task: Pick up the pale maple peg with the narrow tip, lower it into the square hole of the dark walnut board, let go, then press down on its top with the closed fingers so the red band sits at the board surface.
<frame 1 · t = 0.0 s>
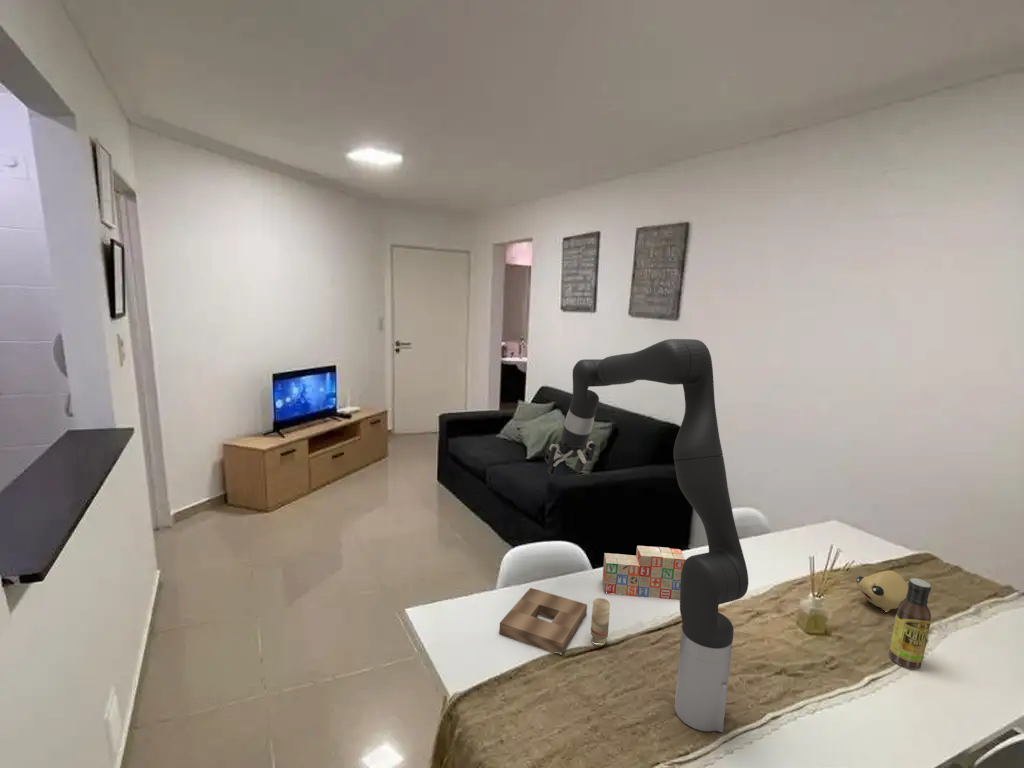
hand: (564, 472, 149), 31 cm above the table, tool tilted 20°, fingers open, 8 cm apart
tan toy head: (879, 607, 143), on the table
peg: (598, 641, 124), on the table
board: (544, 624, 130), on the table
stack of blocks: (641, 592, 147), on the table
sauce bottle: (905, 662, 121), on the table
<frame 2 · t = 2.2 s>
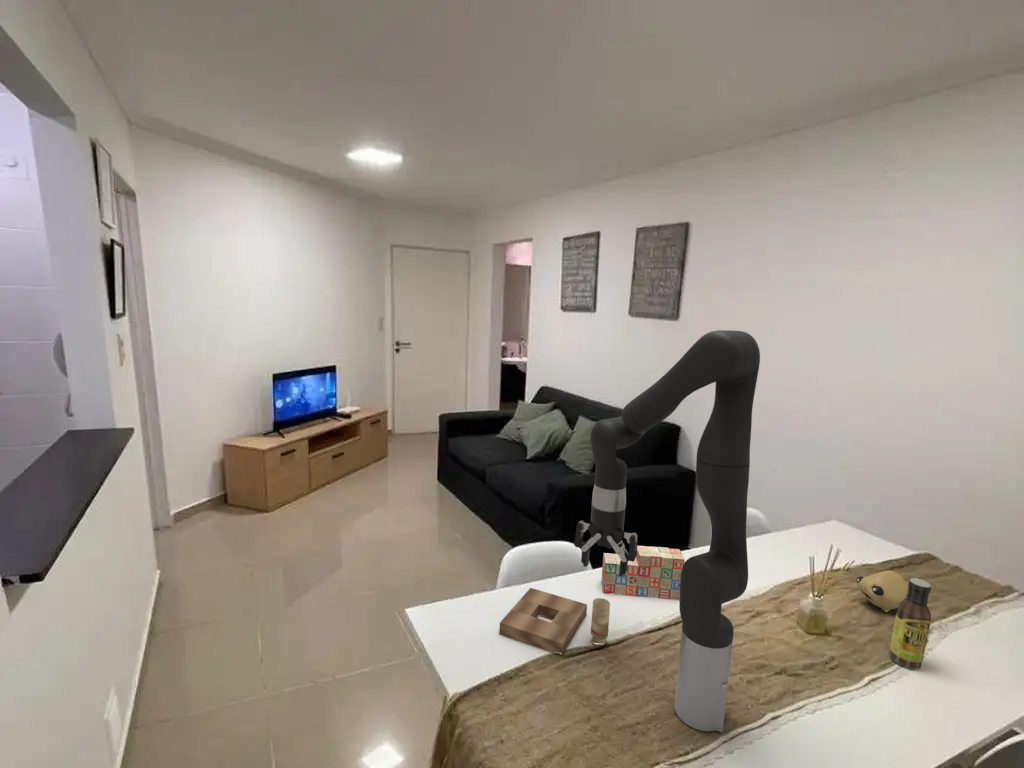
hand: (603, 570, 121), 18 cm above the table, tool pointing down, fingers open, 8 cm apart
nothing on the table moved.
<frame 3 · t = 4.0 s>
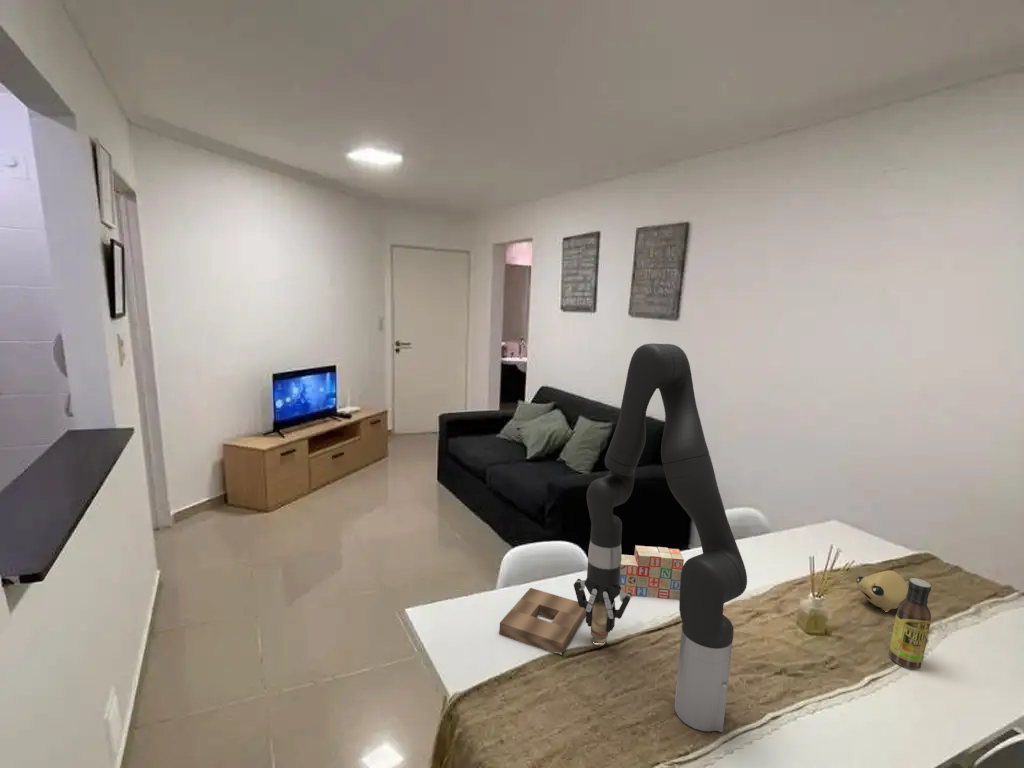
hand: (599, 627, 123), 4 cm above the table, tool pointing down, fingers closed on peg, 4 cm apart
peg: (598, 641, 124), on the table, touching gripper
everything else where it was.
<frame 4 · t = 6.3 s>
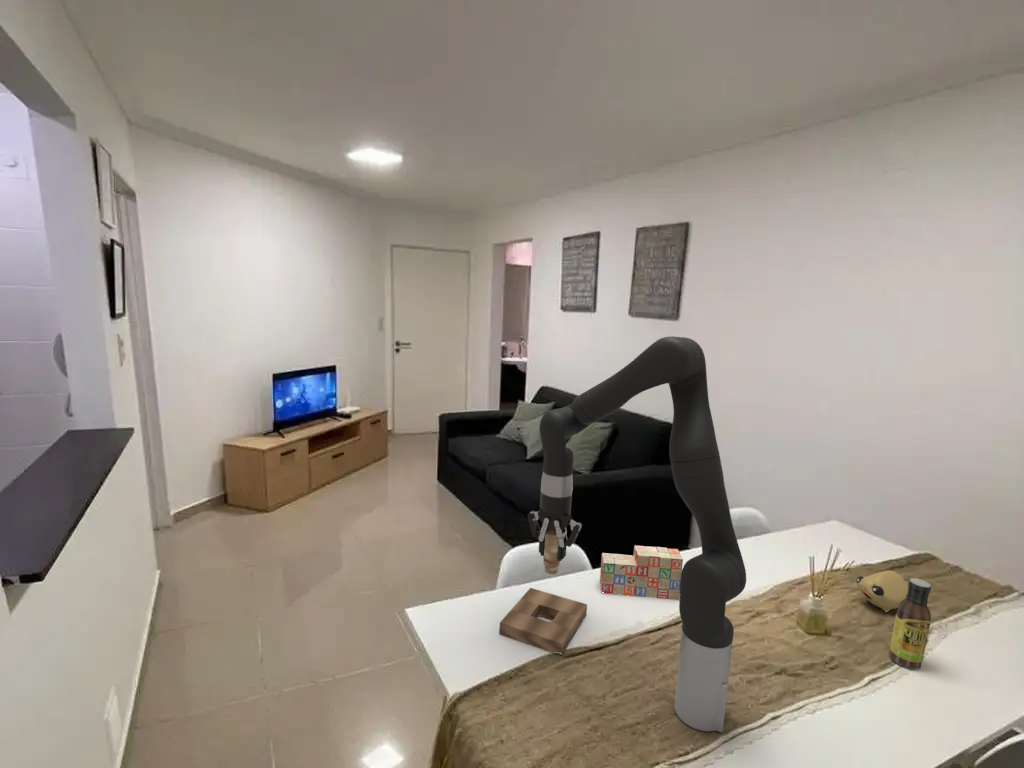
hand: (551, 556, 127), 18 cm above the table, tool pointing down, fingers closed on peg, 4 cm apart
peg: (551, 570, 128), point 14 cm above the table, touching gripper
everything else where it was.
when the fingers open (4 cm above the table, at t = 8.9 s): peg stays where it is, resting in board.
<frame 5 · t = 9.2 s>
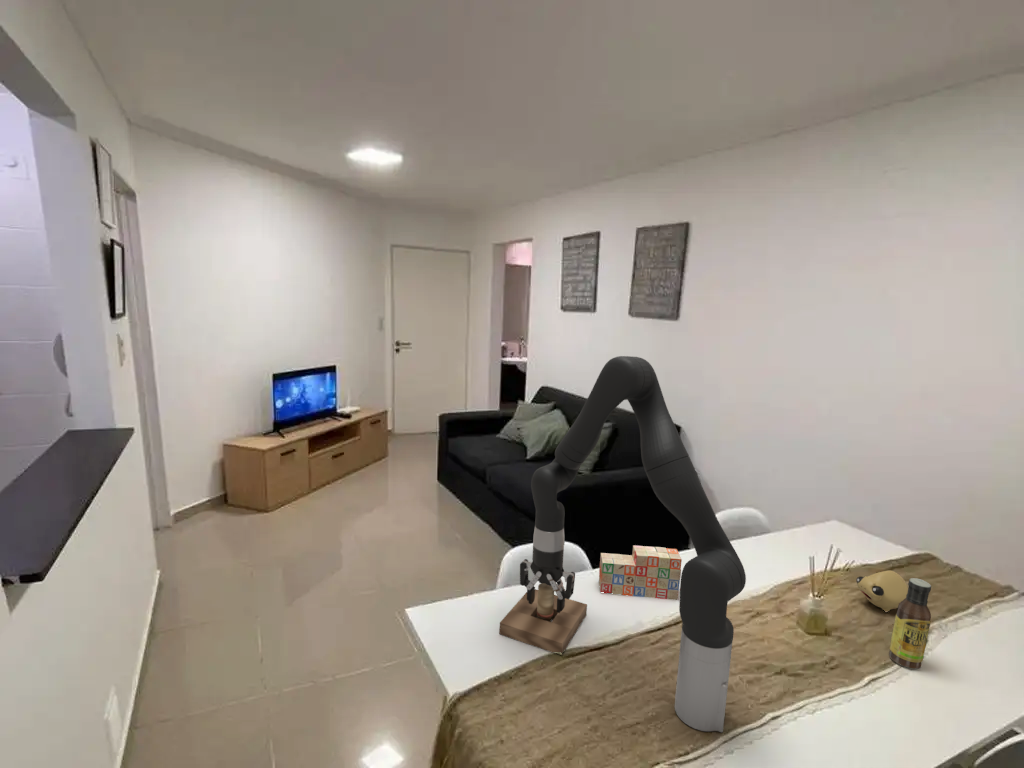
hand: (545, 606, 129), 5 cm above the table, tool pointing down, fingers open, 7 cm apart
peg: (544, 624, 130), resting in board
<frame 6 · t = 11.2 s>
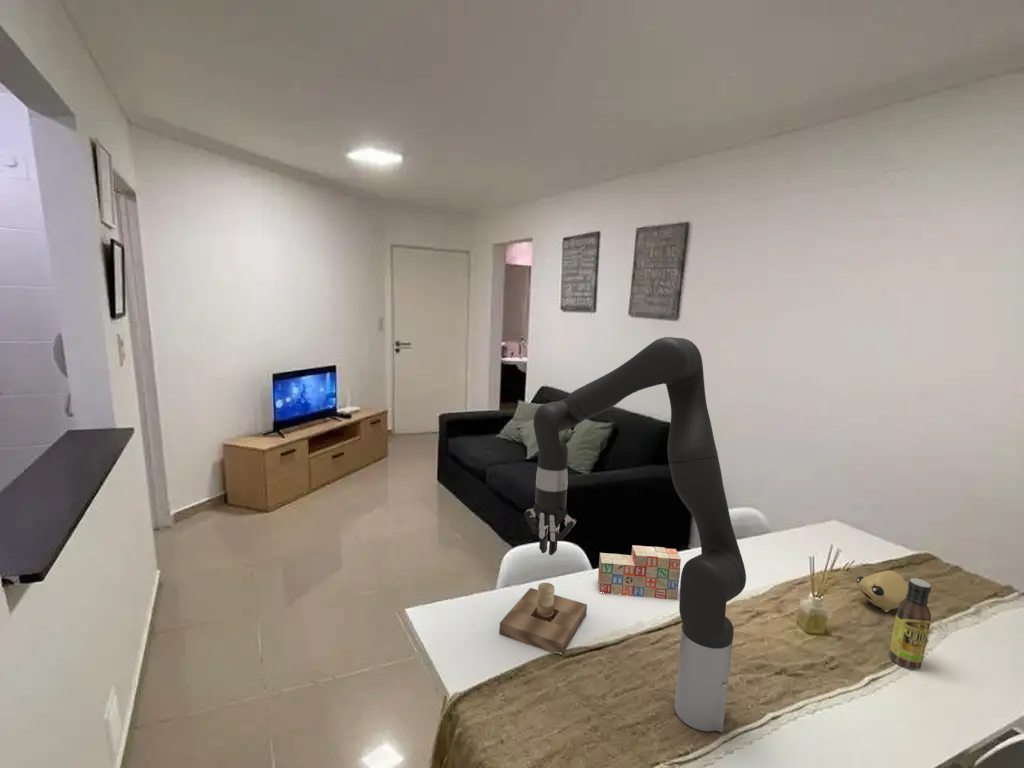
hand: (548, 552, 127), 19 cm above the table, tool pointing down, fingers closed
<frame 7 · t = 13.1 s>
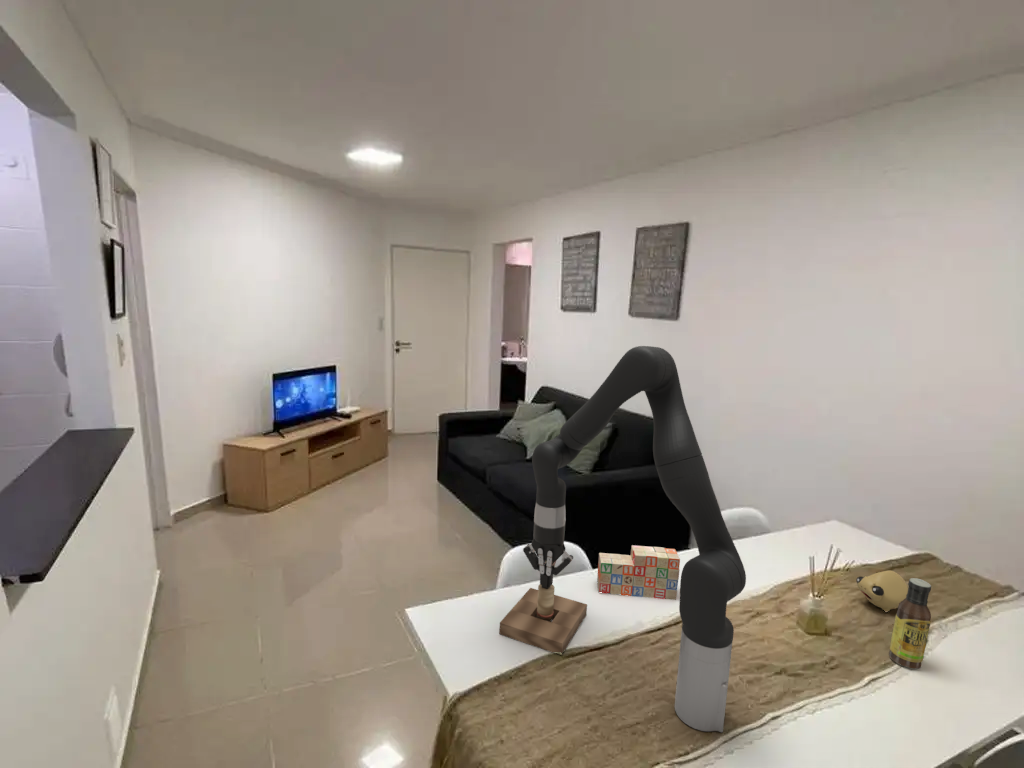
hand: (546, 587, 128), 10 cm above the table, tool pointing down, fingers closed
peg: (544, 624, 130), resting in board, touching gripper
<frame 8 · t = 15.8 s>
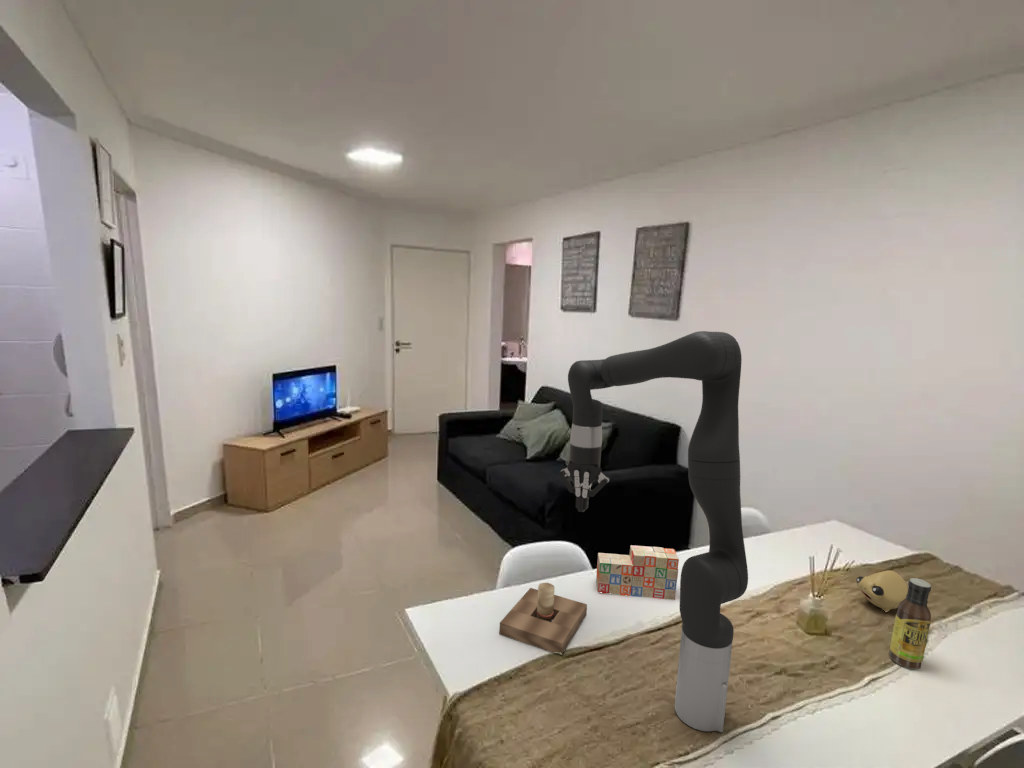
hand: (581, 510, 128), 29 cm above the table, tool pointing down, fingers closed
peg: (544, 624, 130), resting in board
at the end: peg 0.1 cm off-centre on the board, point 0.0 cm above the board's base; peg tilted 0°; the gripper is holding nothing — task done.
